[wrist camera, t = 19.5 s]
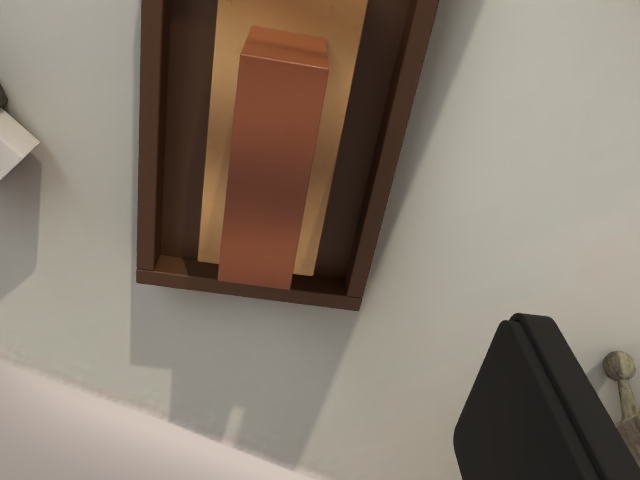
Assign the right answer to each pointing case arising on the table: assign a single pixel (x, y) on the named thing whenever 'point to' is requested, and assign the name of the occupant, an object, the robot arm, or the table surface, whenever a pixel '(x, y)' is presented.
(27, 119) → the table surface
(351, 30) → the brush
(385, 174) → the tray
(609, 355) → the tabletop clock
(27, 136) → the usb drive
